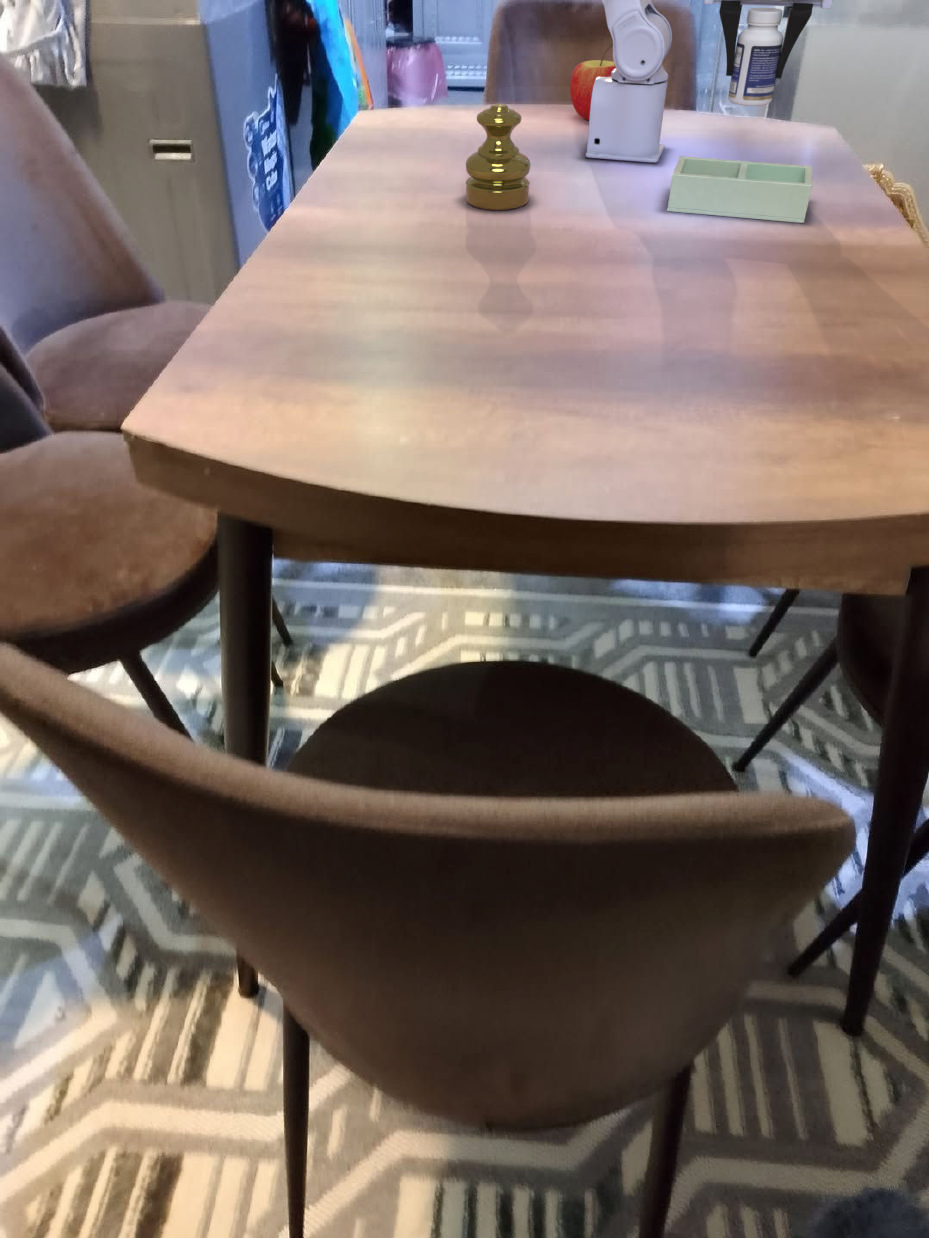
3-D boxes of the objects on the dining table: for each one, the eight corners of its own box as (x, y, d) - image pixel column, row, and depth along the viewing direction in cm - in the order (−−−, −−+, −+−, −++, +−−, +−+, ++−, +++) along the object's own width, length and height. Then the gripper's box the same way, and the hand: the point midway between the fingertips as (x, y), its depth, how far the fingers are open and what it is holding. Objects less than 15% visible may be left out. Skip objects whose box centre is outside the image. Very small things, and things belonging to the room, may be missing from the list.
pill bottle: (779, 102, 115) (797, 9, 108) (758, 109, 112) (775, 14, 105) (740, 95, 117) (756, 5, 111) (719, 102, 114) (734, 10, 108)
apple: (608, 129, 132) (615, 49, 126) (557, 121, 136) (561, 43, 129) (632, 118, 137) (641, 40, 131) (582, 110, 141) (588, 35, 134)
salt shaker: (481, 215, 102) (482, 116, 96) (455, 196, 108) (455, 101, 101) (539, 206, 105) (544, 109, 98) (511, 189, 110) (514, 95, 103)
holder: (803, 223, 100) (812, 185, 98) (667, 211, 104) (672, 174, 101) (804, 202, 106) (812, 166, 104) (674, 191, 109) (679, 156, 107)
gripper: (843, -63, 105) (814, 72, 114) (716, -65, 108) (697, 66, 117) (846, -57, 100) (815, 84, 109) (712, -60, 103) (692, 77, 112)
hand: (753, 76), depth 113 cm, fingers closed on pill bottle, 5 cm apart
